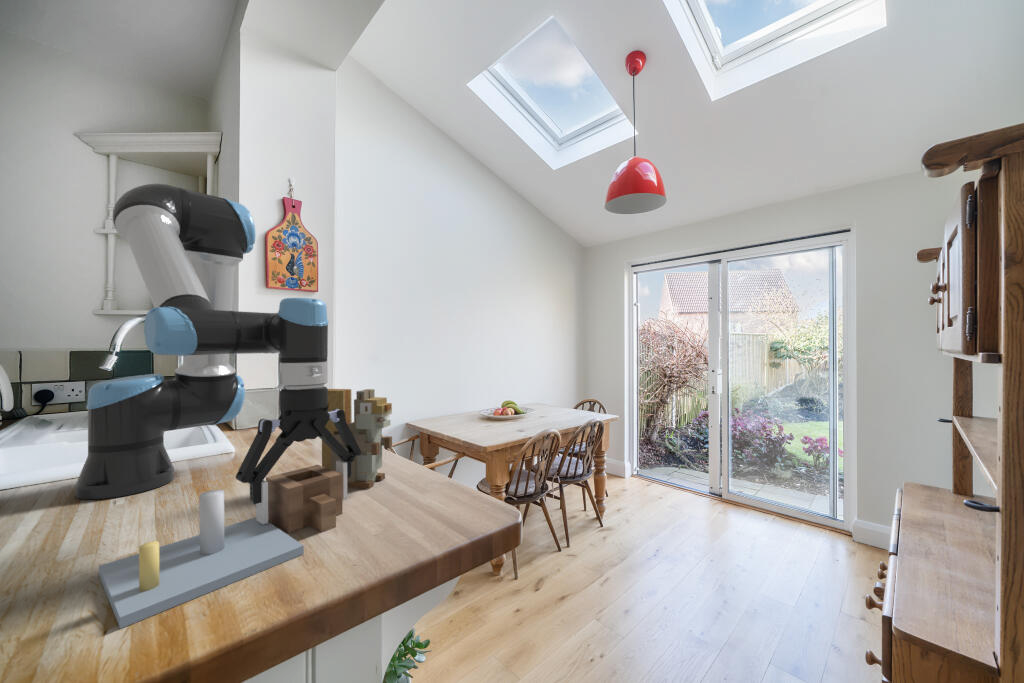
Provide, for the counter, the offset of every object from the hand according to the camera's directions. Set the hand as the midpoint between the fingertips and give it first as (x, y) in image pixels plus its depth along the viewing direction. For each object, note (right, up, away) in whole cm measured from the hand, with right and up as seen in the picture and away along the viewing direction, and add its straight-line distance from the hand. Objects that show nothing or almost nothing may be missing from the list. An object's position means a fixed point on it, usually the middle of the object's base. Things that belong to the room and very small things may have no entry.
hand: (304, 508), depth 70 cm
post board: (-6, -1, -15) cm, 16 cm away
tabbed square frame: (+1, -1, -1) cm, 2 cm away
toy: (+2, -2, +17) cm, 17 cm away
